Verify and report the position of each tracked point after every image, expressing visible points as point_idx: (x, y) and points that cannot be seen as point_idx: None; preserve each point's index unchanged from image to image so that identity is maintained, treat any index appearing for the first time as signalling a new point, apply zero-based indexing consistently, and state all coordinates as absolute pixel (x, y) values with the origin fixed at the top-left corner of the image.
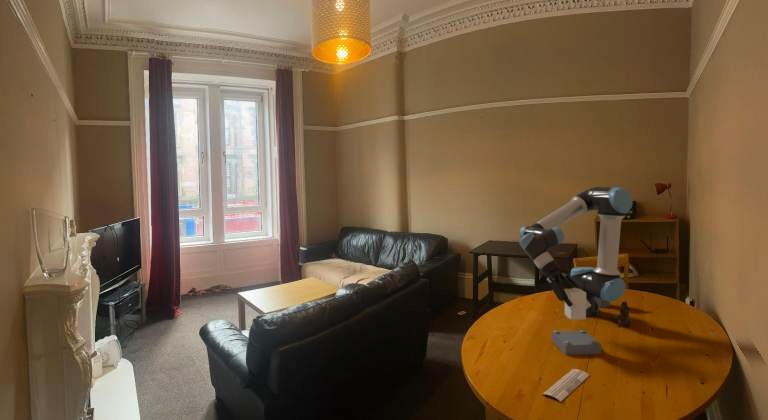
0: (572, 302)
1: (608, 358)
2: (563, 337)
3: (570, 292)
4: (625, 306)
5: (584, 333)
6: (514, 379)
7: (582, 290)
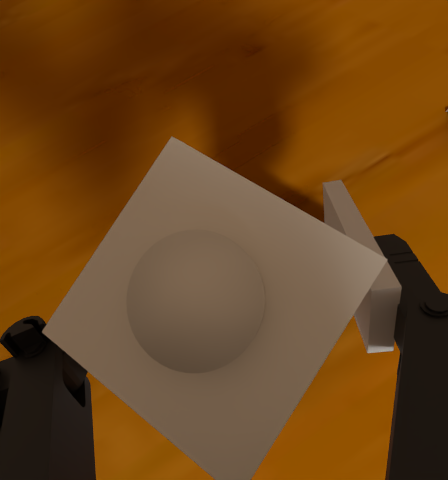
0: (372, 239)
1: (248, 159)
2: None
3: (369, 288)
4: None
5: None
6: None
7: (100, 243)
